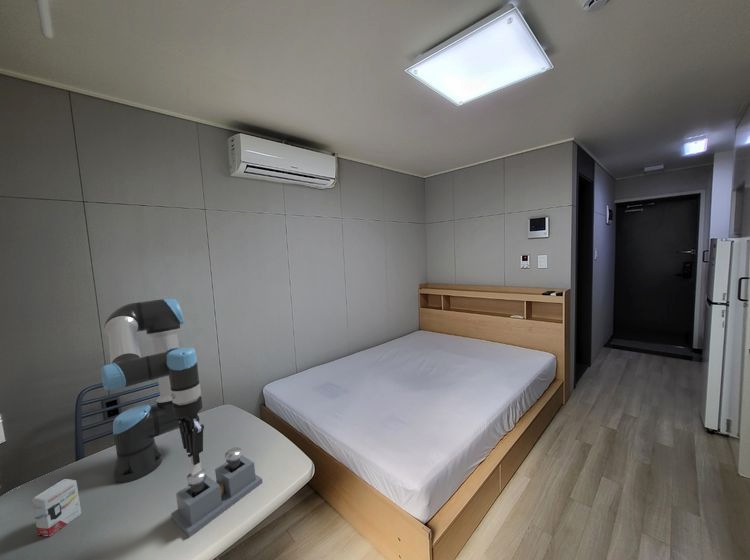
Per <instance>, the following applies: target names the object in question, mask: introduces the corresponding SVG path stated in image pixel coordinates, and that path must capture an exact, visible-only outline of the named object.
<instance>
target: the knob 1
mask: <svg viewBox="0 0 750 560" xmlns="http://www.w3.org/2000/svg"><path fill="white" fill-rule="evenodd" d="M206 475H207V473H206V469H205V468H202V470H201V471H200V472H198V473H196V474H195V475H193V476H192V475H191V474H190V473H189V474H188V475H187V476H186V481H187V483H186V484H187V486H190V487H191V492H192V497H193V498H194V497H196V496H198V495H199V494H201V493H202V492H204V491H205V485H204V481H205V479H206Z"/></svg>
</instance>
